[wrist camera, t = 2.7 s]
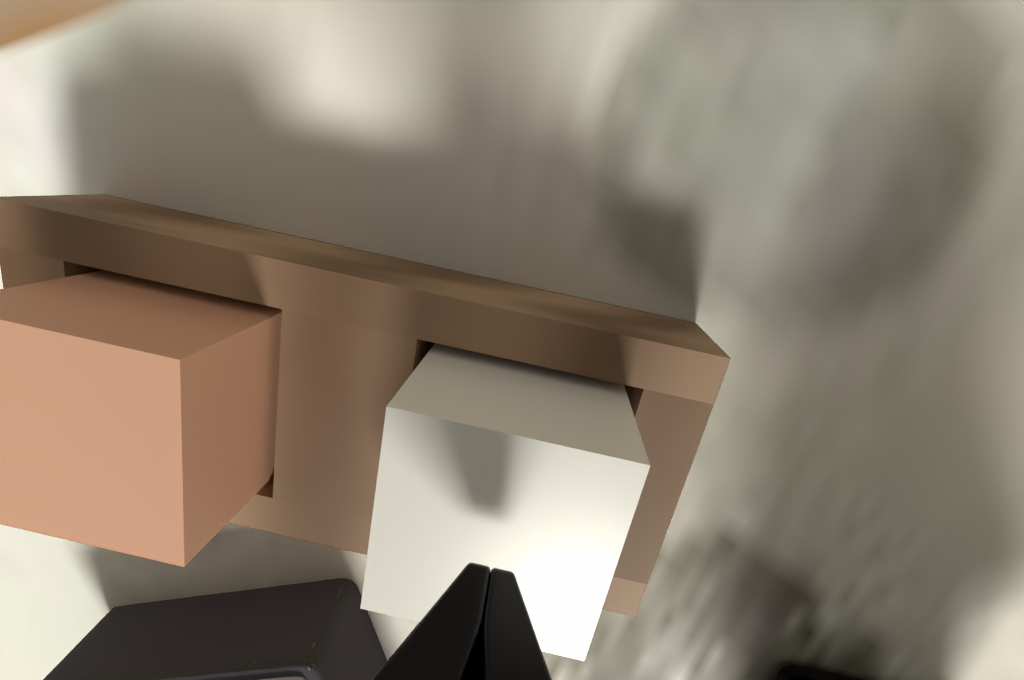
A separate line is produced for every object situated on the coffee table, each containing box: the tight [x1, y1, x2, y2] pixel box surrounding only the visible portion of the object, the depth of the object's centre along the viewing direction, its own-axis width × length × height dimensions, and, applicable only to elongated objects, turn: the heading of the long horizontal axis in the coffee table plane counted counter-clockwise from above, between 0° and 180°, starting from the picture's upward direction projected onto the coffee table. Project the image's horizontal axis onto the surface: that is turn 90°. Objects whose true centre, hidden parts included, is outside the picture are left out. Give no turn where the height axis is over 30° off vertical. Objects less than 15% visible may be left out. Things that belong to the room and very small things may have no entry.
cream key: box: [360, 343, 650, 661], centre depth 12 cm, size 5×5×4 cm
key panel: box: [0, 194, 731, 617], centre depth 14 cm, size 18×8×3 cm, turn 79°
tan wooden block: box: [0, 270, 282, 567], centre depth 12 cm, size 5×5×4 cm
